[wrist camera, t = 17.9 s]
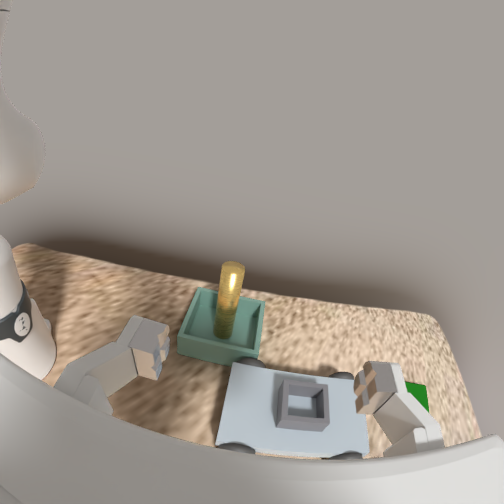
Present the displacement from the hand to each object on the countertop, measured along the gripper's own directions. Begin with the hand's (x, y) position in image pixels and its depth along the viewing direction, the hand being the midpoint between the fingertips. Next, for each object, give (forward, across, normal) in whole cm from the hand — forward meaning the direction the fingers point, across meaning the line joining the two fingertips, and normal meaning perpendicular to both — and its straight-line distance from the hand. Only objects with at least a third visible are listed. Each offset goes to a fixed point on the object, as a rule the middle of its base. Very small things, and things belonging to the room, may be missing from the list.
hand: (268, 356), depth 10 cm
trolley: (+13, -10, +32) cm, 36 cm away
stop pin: (+29, +4, +31) cm, 43 cm away
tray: (+29, +4, +32) cm, 44 cm away
